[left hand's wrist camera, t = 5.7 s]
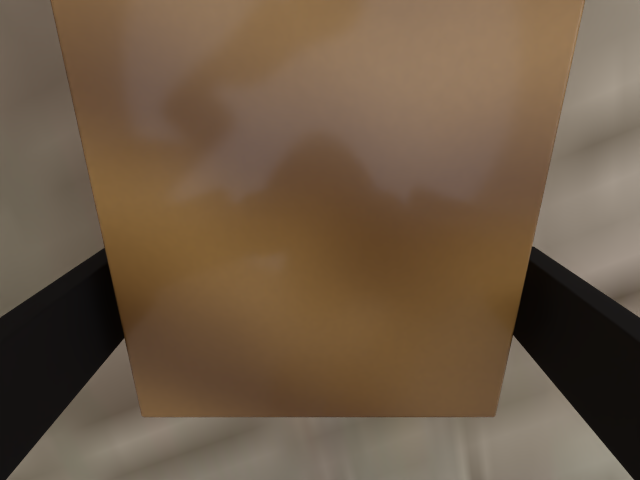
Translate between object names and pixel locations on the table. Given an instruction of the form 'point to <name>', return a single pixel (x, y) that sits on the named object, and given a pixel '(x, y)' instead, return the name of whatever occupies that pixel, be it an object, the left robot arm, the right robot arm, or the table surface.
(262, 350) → the tan rectangular mottled block
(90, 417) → the table surface
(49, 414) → the left robot arm
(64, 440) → the table surface
